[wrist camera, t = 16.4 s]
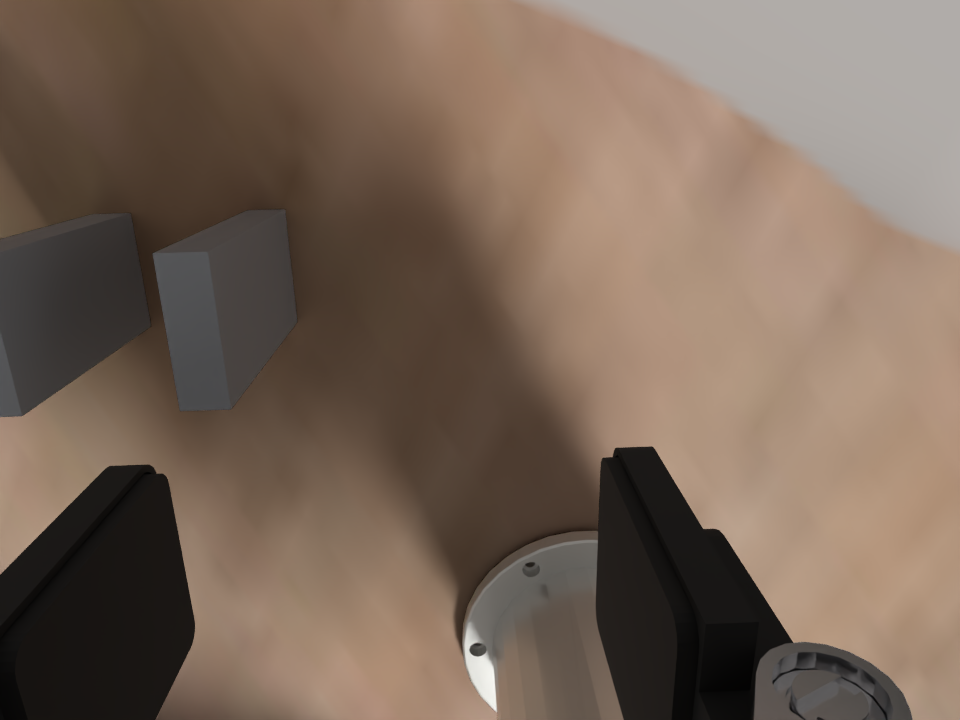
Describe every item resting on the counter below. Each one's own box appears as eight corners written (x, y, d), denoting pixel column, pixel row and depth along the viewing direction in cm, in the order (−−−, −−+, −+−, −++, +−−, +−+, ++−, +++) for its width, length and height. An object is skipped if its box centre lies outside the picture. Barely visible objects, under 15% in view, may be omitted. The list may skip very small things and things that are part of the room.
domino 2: (285, 209, 30) (208, 251, 21) (297, 321, 32) (231, 409, 22) (247, 210, 30) (152, 253, 21) (261, 323, 32) (179, 411, 22)
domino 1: (130, 213, 30) (-19, 257, 20) (151, 326, 32) (22, 415, 22) (92, 214, 30) (-75, 259, 20) (115, 327, 31) (-30, 417, 22)
